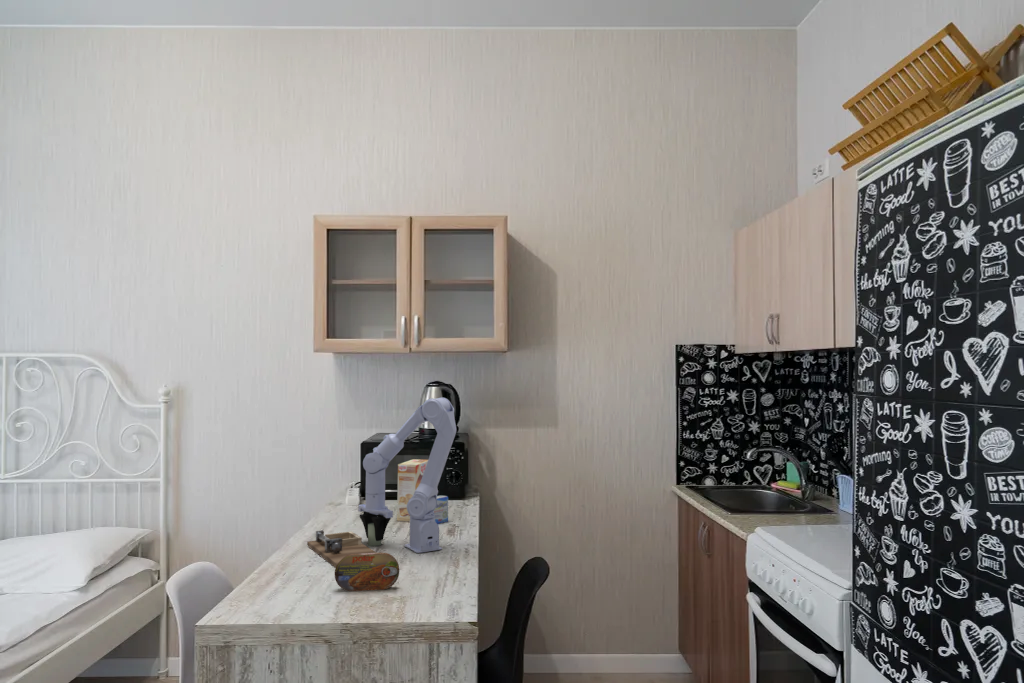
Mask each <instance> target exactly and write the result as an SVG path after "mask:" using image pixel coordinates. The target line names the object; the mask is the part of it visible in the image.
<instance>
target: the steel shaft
mask: <svg viewBox="0 0 1024 683" xmlns="http://www.w3.org/2000/svg"><path fill="white" fill-rule="evenodd" d="M318 538H319V539H320V540H321V541H323V542H324V543H325V540H327V539H329V538H327V537H326V536H325V534H324V535H323V534H319V535H318ZM330 547H331V550H332V551H333V552H335V553H339V552H340V551H341V550H342V545H341V544H340V543H338V542H332V543H330Z"/></svg>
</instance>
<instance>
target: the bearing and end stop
mask: <svg viewBox="0 0 1024 683" xmlns="http://www.w3.org/2000/svg"><path fill="white" fill-rule="evenodd" d="M319 534H323V535H324V536H325V531H324V530H323V529H322V530H316V531H315V541H316V542H322V541H321V540H320V539H319V538H318V535H319ZM332 542H338V543H340V544H341V545H342V538H335V539H327V540H325V552H326V553H330V543H332ZM341 551H342V550H341Z"/></svg>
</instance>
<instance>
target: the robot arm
mask: <svg viewBox="0 0 1024 683" xmlns="http://www.w3.org/2000/svg"><path fill="white" fill-rule="evenodd" d="M455 419H456V418H455V408H454V406H453V405H452V403H451V401H450V400H449V399H448V398H446V397H443V396H442V397H438V398H437V397H436V398H433V397H432V398H428V399H426V400H424V402H423V404H421V405H420V406H418V407H417V408H416V410H415V411H414V412H413V413H412V414H411V415H410V416H409V418H408V419H407V420H406V421H405V422H404V423H403V424H402V425H401V427H400V428H399V429H398V430H397V431H396V433H389V434H385V435H384V436H383V437H382V439H383V440H382V441H381V442H380V444H378V446H376V447H373V449H372V450H373V451H372V452H369V453H367V454H365V457H364V458H363V461H362V467H363V469H364V470H365V503H363V504H358V510H357V511H358V512H363V513H362V514H359V518H360V520H361V522H362V525H363V528H364V531H365V535H366V539H368V524H370V523H374V528H375V538H376V541H380V540H382V541H384V537H385V532H386V530H387V526H388V524H389V522H390V521H391V519H392V518H393V517H394V516H393V515H394V514H393V513H394V511H393V510H391V509H389V507H388V506H387V505H386V470H387V468H388V467H389V464H390V462H391V461H392V460H393V459H394V457H395V456H396V455H398V453H400V451H401V450H402V449H403V448H404V447H405V444H404V443H405V441H406V439H407V438H408V437H409V436H411V435H412V434H413V433H414V432H415V430H417V429H418V427H420V426H421V425H422V424H424V423H426V422H429V423H430V424H432V426H433V427H434V430H435V431H436V433H437V434H436V436H435V438H434V442H433V445H432V447H431V451H430V454H429V457H428V459H427V460H428V462H427V465H426V468H425V471H424V474H423V477H422V480H421V482H420V484H419V486H418V487H417V489H416V490H415V493H414V495H413V497H412V498H411V499H410V500H409V501H408V503H407V511H408V513H409V515H410V522H409V543H405V544H404V547H406V548H408V549H409V550H411V551H413V552H414V553H416V554H418V553H419V554H420V553H426V552H432V551H433V552H435V551H441V550H442V549H443V547H441V546H440V526H439V524H437V523H436V522H435V518H434V516H435V514H434V512H433V510H435V508H436V506H437V496H438V494H439V490H438V489H439V488H438V486H439V483H440V481H441V477H442V474H443V472H444V469H445V466H446V463H447V460H448V456H449V454H450V451H451V448H452V445H453V443H454V439H455V437H456V434H457V425H456V420H455Z"/></svg>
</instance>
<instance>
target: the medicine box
mask: <svg viewBox="0 0 1024 683" xmlns="http://www.w3.org/2000/svg"><path fill="white" fill-rule="evenodd" d="M433 512H434V514H435V516H434V518H435V522H436V523H437V524H438V525H439V524H440V525H441V524H444V523H448V522H449V496H448V495H437V506H436V508H435V510H433Z"/></svg>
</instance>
